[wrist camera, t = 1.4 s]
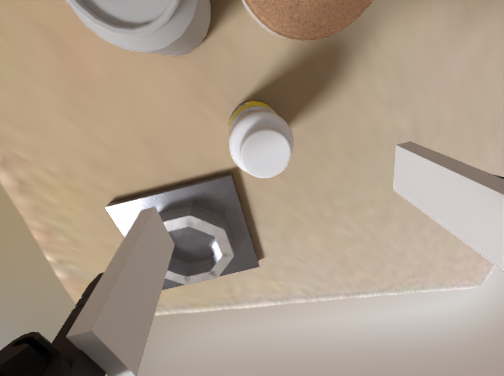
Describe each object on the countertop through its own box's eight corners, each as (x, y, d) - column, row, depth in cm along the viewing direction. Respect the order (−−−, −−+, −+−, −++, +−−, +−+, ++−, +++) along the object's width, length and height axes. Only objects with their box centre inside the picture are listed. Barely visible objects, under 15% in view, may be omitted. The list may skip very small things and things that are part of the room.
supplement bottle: (272, 150, 28) (292, 190, 19) (226, 145, 28) (225, 184, 19) (281, 102, 26) (310, 123, 17) (231, 95, 25) (233, 113, 16)
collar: (231, 171, 29) (231, 185, 26) (258, 260, 37) (261, 280, 34) (109, 202, 30) (95, 219, 26) (161, 284, 37) (155, 305, 34)
